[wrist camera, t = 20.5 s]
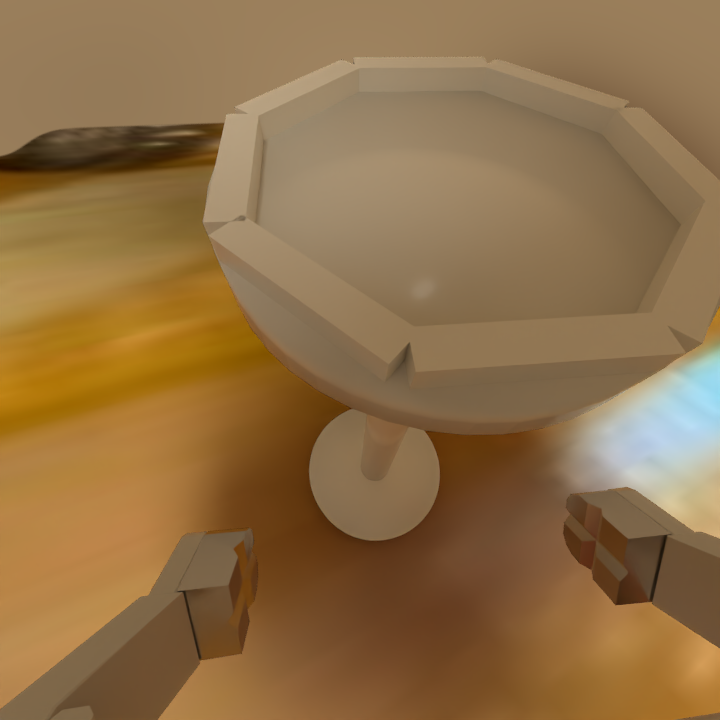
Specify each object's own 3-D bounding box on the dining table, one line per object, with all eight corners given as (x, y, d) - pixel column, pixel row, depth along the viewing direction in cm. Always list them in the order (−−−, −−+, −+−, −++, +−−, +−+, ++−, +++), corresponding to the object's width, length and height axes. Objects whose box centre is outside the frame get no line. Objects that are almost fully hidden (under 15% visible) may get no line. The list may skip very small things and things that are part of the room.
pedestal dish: (312, 547, 17) (11, 510, 2) (310, 416, 20) (199, 40, 5) (448, 533, 17) (1066, 415, 2) (423, 407, 21) (607, 40, 6)
